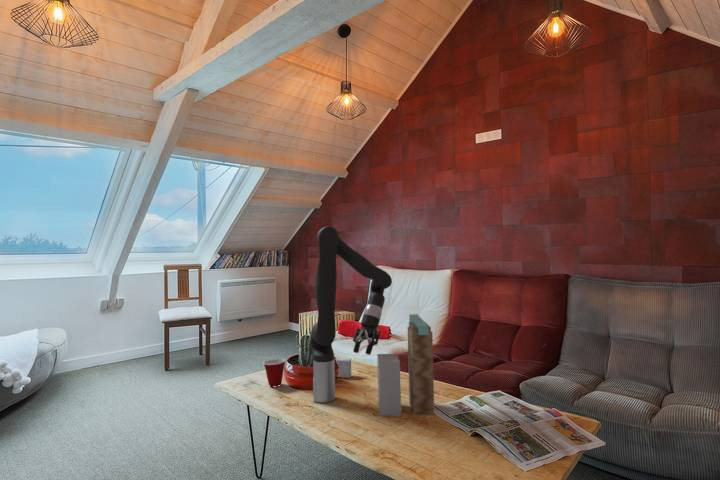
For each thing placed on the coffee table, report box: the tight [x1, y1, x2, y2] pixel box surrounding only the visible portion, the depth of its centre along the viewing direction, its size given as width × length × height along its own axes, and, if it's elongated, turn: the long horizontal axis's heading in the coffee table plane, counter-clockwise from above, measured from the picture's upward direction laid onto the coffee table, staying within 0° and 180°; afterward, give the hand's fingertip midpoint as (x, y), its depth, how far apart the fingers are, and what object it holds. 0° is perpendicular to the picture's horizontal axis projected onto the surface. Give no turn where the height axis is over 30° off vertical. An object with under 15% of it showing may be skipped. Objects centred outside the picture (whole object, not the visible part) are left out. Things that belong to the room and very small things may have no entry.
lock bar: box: [408, 313, 429, 335], centre depth 173 cm, size 4×26×4 cm, turn 2°
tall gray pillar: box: [376, 353, 402, 417], centre depth 169 cm, size 8×12×21 cm, turn 2°
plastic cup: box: [262, 358, 287, 386], centre depth 201 cm, size 11×11×12 cm
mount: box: [407, 321, 435, 416], centre depth 170 cm, size 8×12×34 cm, turn 2°
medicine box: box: [336, 358, 352, 379], centre depth 212 cm, size 8×4×9 cm, turn 84°
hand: (361, 353), depth 175 cm, fingers open, 8 cm apart
